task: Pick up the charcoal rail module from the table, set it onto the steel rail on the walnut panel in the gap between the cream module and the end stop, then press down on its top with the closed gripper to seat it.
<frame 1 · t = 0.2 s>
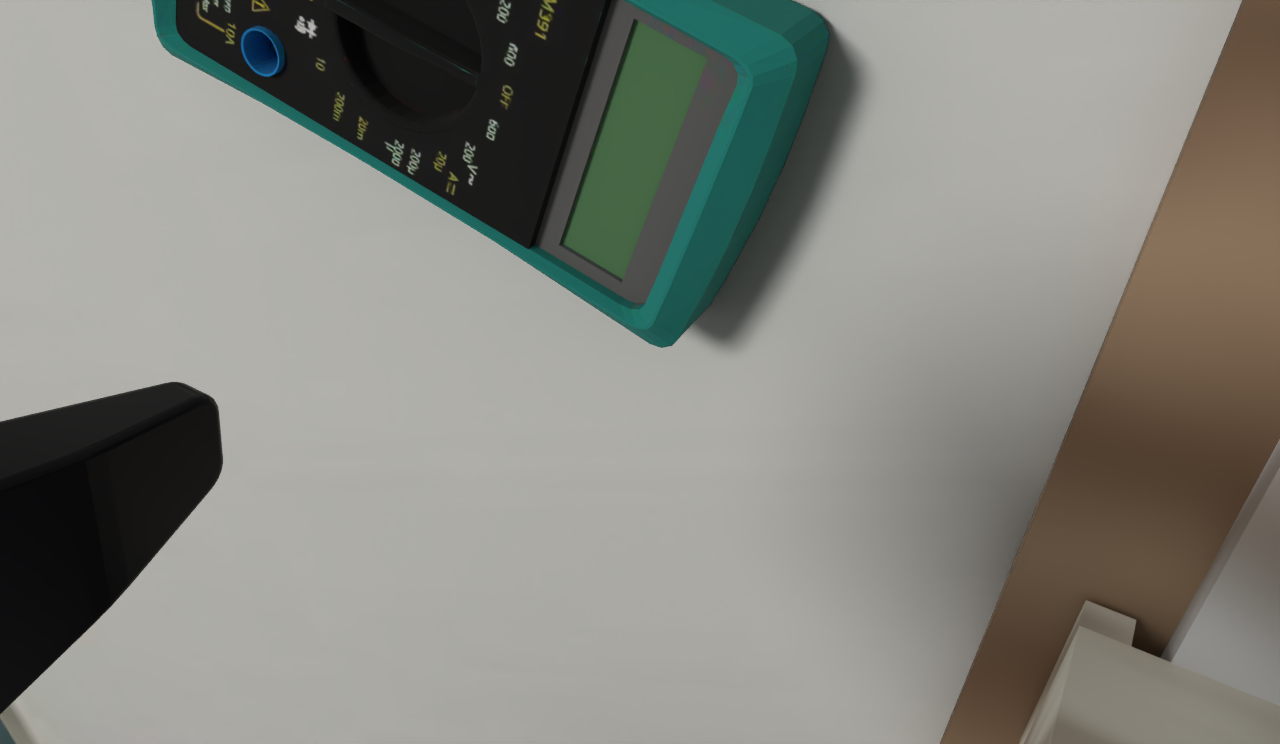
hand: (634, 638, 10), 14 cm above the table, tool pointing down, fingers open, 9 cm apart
digital multimeter: (496, 15, 25), on the table
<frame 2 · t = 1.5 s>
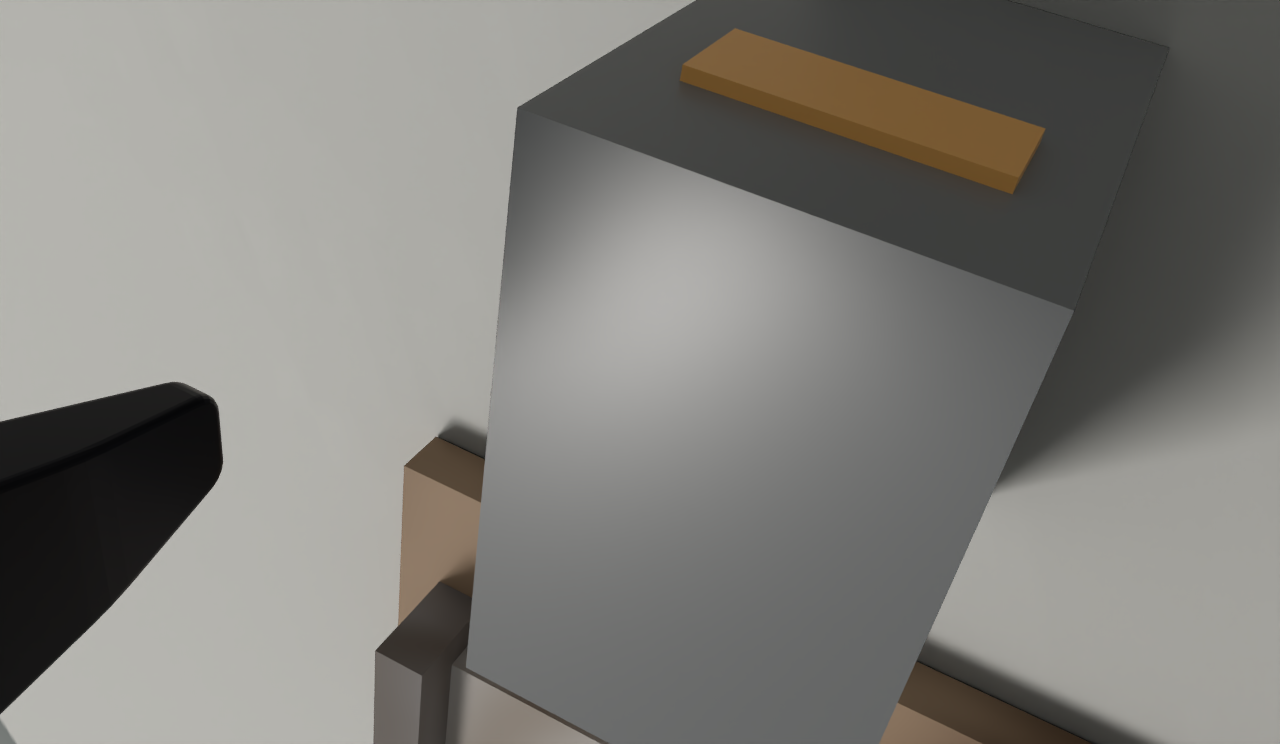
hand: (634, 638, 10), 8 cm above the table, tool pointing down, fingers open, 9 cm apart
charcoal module: (892, 245, 16), on the table
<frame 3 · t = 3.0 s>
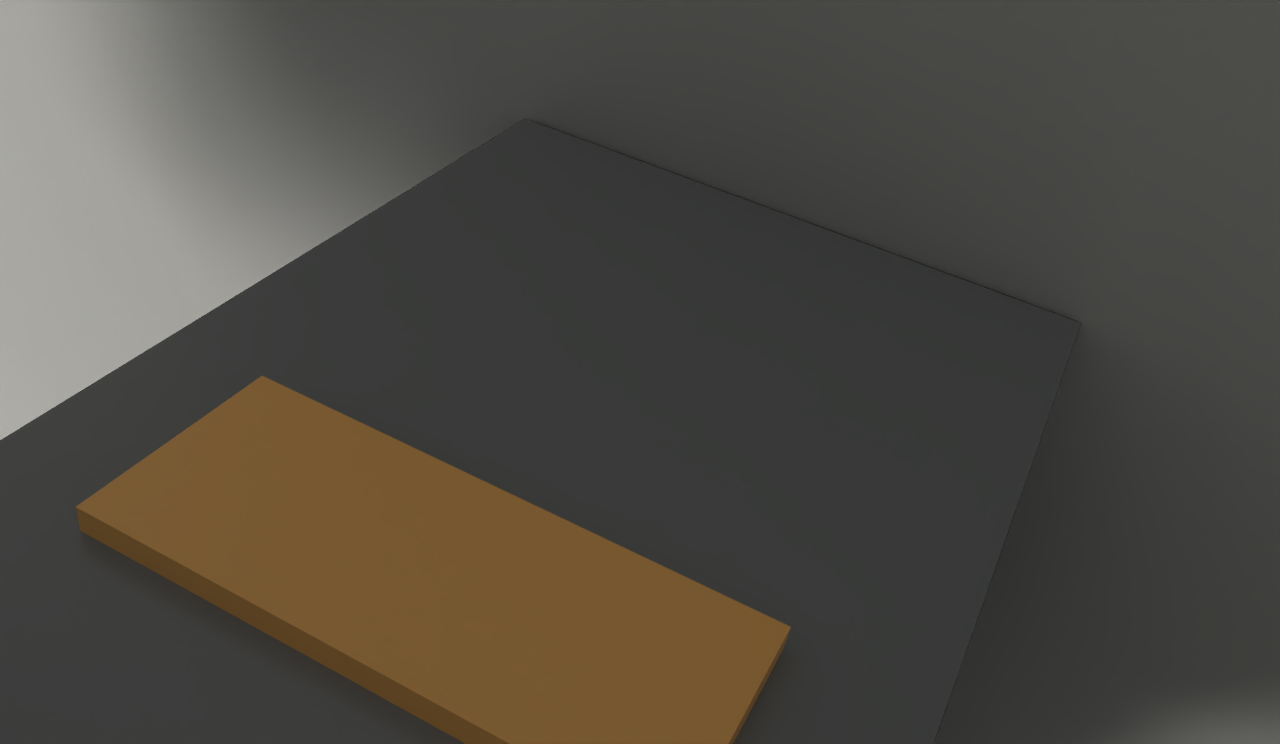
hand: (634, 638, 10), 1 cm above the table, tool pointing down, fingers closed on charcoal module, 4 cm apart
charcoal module: (699, 543, 11), on the table, touching gripper
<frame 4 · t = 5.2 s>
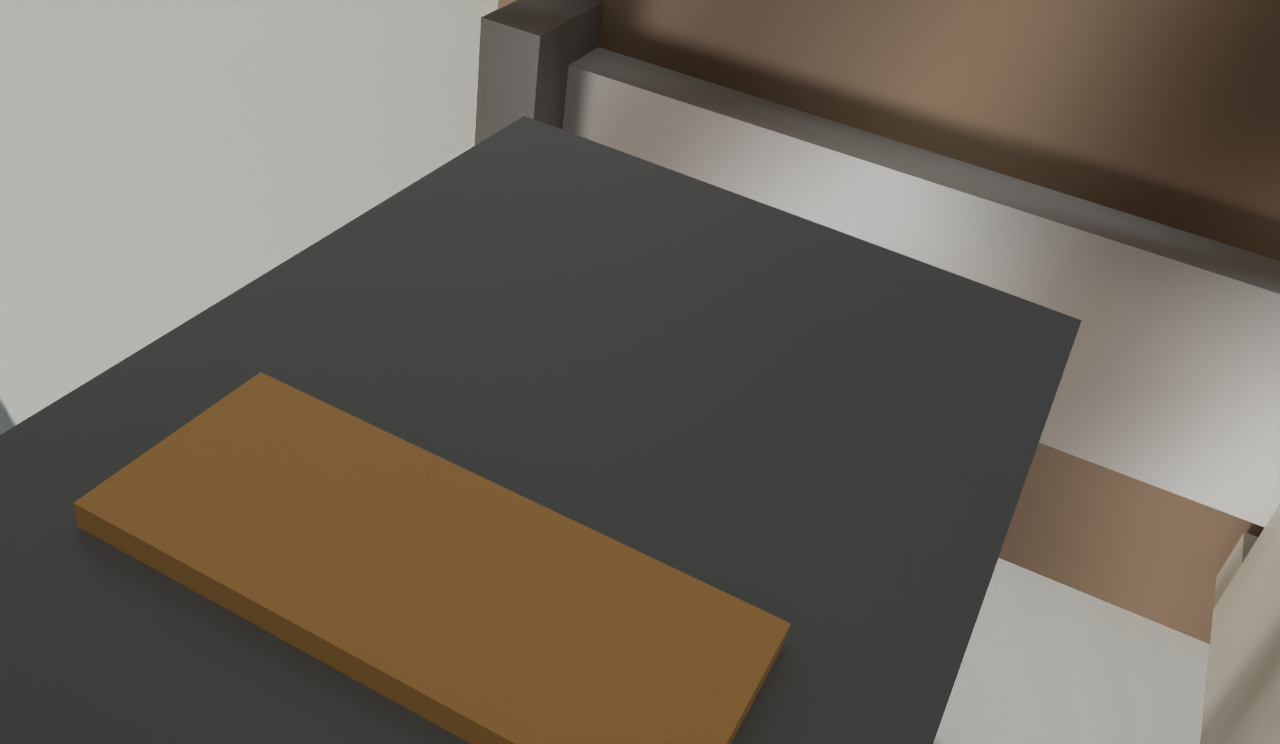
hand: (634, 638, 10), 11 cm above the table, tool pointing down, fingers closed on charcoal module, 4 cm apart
din panel: (1133, 300, 18), on the table
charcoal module: (698, 541, 11), point 10 cm above the table, touching gripper
when the fingers open (3 cm above the table, at t = 7.6 s): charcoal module stays where it is, resting on din panel.
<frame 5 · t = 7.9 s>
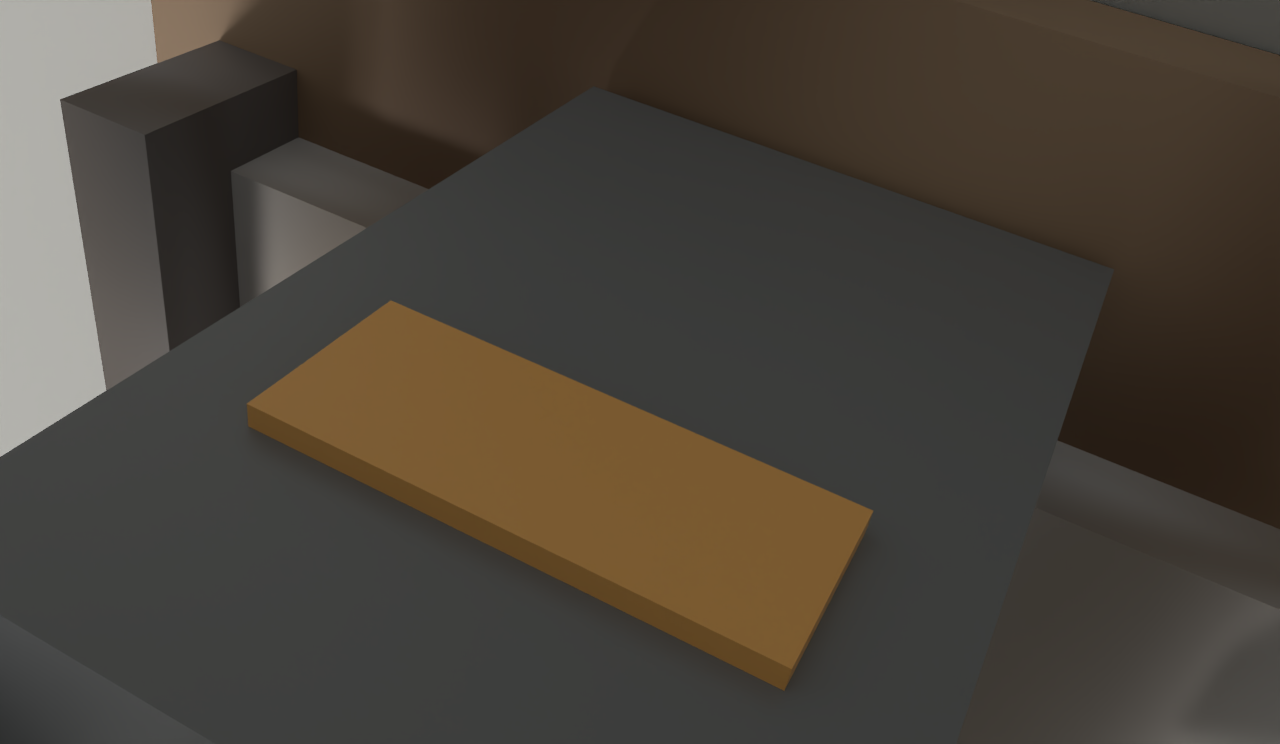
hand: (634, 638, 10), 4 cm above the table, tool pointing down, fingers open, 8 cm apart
din panel: (1113, 562, 11), on the table
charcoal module: (748, 488, 11), point 1 cm above the table, touching din panel
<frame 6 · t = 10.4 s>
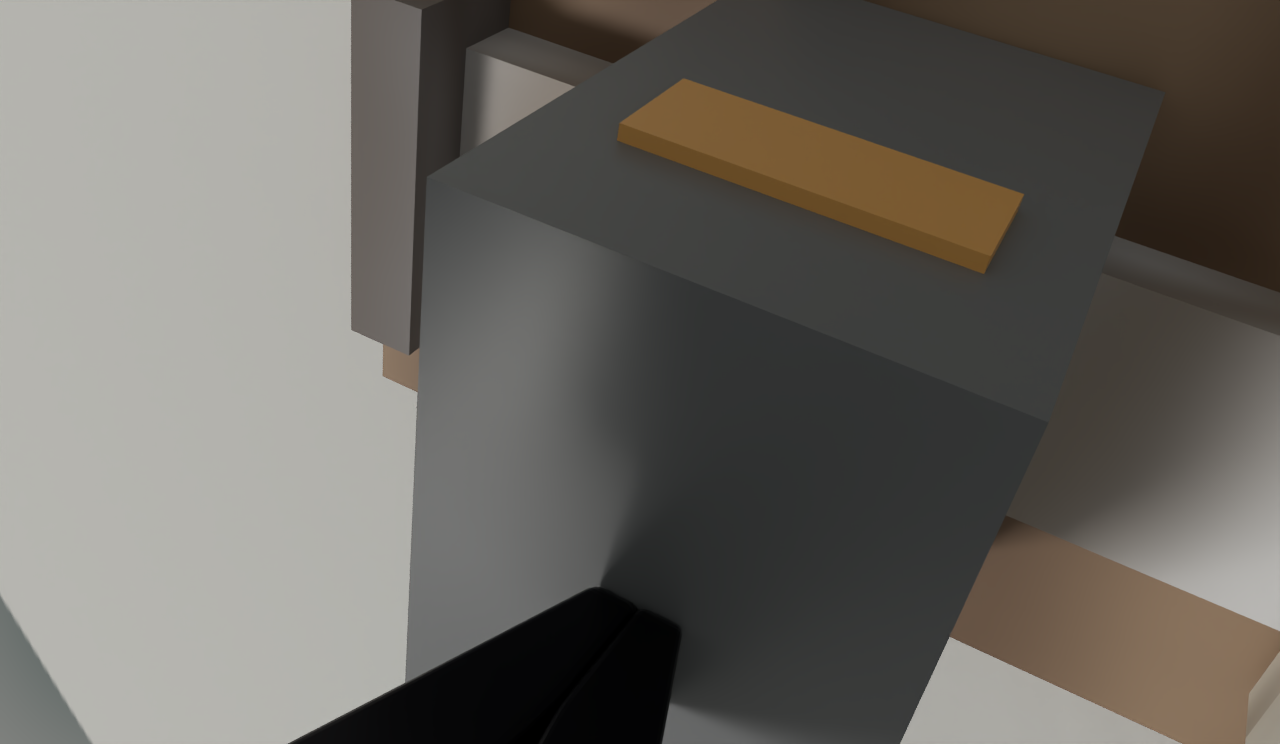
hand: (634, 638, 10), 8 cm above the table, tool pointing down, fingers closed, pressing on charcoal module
din panel: (1155, 353, 15), on the table
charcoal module: (870, 296, 15), point 1 cm above the table, touching din panel, gripper
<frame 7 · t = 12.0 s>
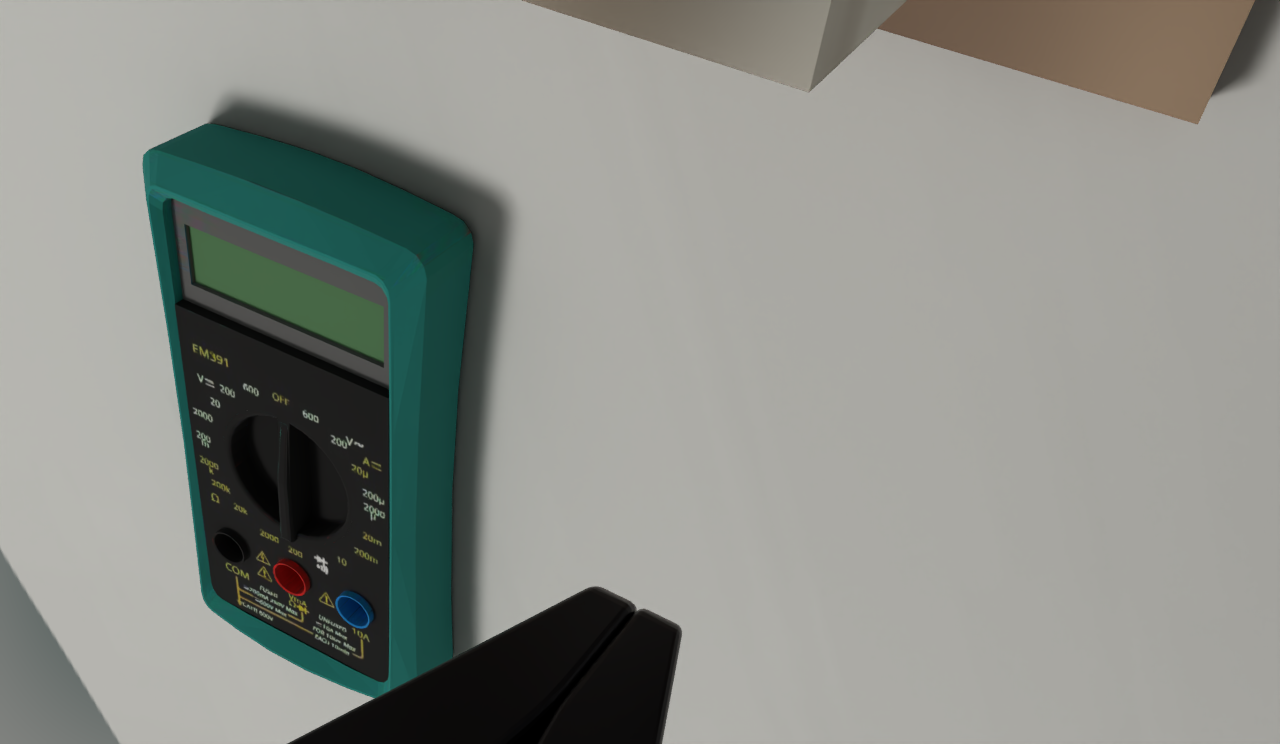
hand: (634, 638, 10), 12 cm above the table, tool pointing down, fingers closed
digital multimeter: (357, 407, 30), on the table
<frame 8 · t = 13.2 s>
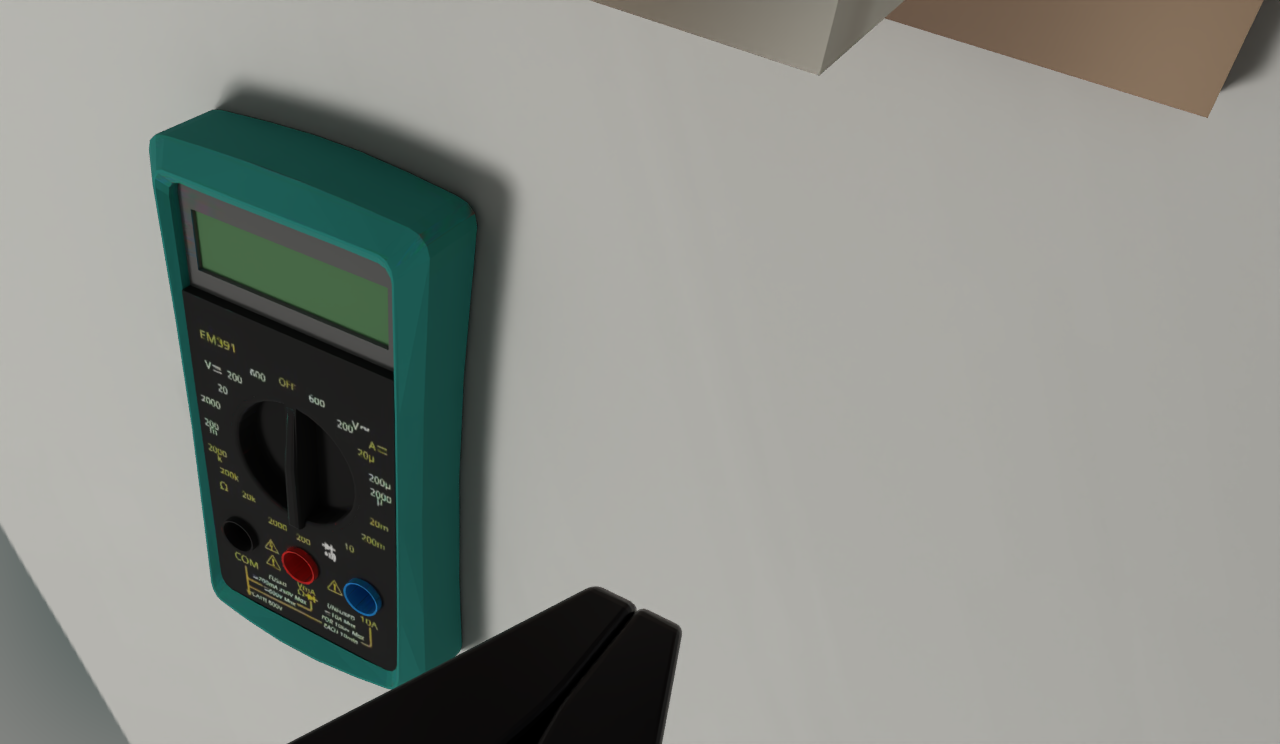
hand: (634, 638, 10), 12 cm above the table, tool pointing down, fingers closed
digital multimeter: (364, 395, 30), on the table
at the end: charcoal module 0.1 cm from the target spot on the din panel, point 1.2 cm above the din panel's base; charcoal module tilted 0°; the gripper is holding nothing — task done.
